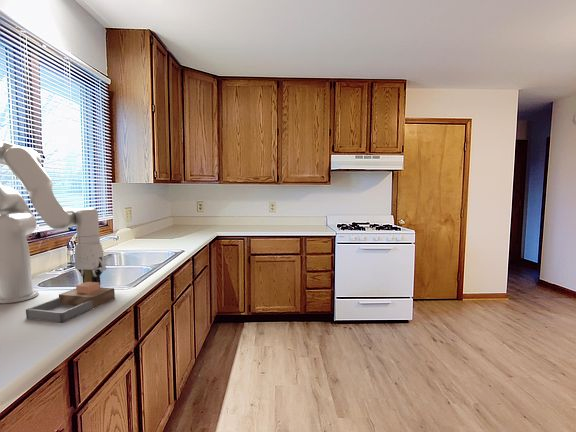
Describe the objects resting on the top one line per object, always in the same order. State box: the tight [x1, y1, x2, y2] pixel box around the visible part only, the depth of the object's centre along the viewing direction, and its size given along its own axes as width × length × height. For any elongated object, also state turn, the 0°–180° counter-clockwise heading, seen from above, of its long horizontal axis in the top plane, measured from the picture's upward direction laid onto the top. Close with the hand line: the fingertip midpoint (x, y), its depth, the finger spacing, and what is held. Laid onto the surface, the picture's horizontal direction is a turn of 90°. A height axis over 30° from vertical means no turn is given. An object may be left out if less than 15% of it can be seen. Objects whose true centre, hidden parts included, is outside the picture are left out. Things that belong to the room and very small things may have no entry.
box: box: [25, 296, 93, 324], centre depth 109 cm, size 14×12×3 cm
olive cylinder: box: [83, 269, 101, 287], centre depth 132 cm, size 6×6×11 cm
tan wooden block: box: [58, 286, 116, 309], centre depth 119 cm, size 14×10×4 cm
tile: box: [75, 282, 101, 294], centre depth 119 cm, size 5×5×2 cm
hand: (91, 285), depth 132 cm, fingers closed on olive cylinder, 3 cm apart
